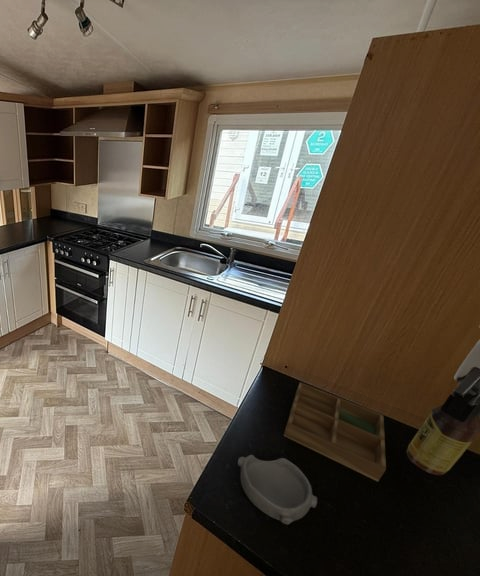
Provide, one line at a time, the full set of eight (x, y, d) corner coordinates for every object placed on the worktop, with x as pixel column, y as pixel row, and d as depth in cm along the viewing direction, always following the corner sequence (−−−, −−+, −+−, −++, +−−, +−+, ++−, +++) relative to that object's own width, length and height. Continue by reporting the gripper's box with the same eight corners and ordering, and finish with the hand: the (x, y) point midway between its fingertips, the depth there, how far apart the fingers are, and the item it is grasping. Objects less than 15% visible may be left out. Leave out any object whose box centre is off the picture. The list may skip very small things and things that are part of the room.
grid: (295, 393, 99) (300, 382, 97) (376, 426, 88) (383, 414, 86) (283, 435, 85) (288, 424, 83) (378, 481, 74) (386, 469, 72)
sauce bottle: (410, 444, 67) (457, 372, 59) (450, 467, 63) (508, 393, 54) (398, 458, 64) (447, 385, 56) (440, 484, 59) (500, 408, 51)
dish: (227, 469, 76) (231, 455, 74) (276, 458, 79) (281, 445, 77) (267, 536, 64) (274, 522, 61) (324, 520, 66) (333, 507, 64)
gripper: (529, 354, 43) (461, 443, 51) (583, 329, 48) (514, 413, 57) (457, 326, 49) (407, 409, 58) (512, 307, 55) (458, 386, 63)
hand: (460, 410), depth 57 cm, fingers closed on sauce bottle, 4 cm apart
